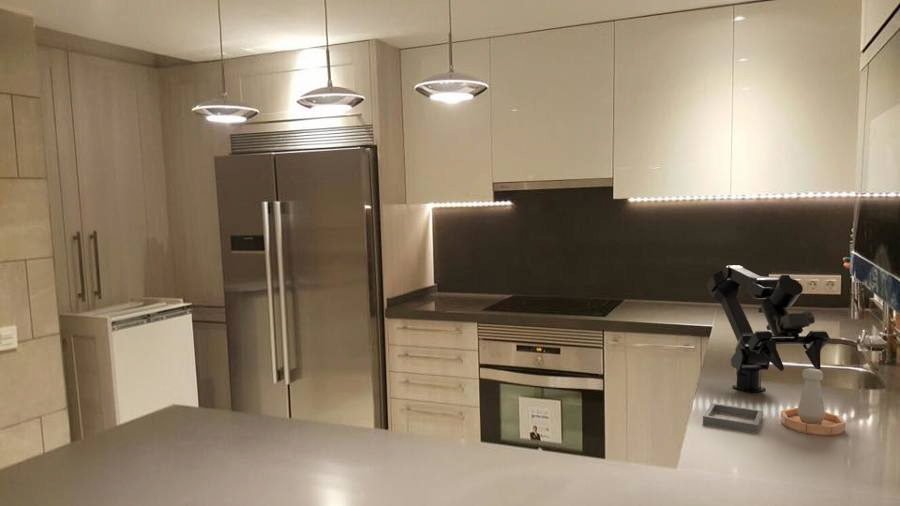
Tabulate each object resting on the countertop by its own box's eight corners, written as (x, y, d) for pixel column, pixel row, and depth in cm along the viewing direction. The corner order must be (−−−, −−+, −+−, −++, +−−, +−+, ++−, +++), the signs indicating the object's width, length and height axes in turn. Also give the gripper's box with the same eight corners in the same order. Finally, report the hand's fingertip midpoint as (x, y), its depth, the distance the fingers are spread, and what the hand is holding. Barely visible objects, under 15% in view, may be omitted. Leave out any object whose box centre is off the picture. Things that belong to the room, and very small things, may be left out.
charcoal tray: (711, 410, 163) (711, 402, 163) (762, 418, 157) (763, 410, 157) (702, 424, 153) (703, 416, 153) (757, 433, 147) (757, 425, 146)
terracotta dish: (802, 413, 160) (803, 405, 160) (855, 429, 149) (855, 420, 149) (769, 421, 154) (770, 413, 154) (821, 439, 143) (822, 429, 143)
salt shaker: (803, 416, 156) (806, 364, 155) (828, 422, 151) (831, 369, 150) (792, 421, 152) (794, 368, 151) (817, 428, 148) (820, 373, 147)
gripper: (755, 300, 159) (777, 353, 149) (827, 299, 160) (854, 352, 150) (739, 324, 168) (758, 376, 158) (807, 323, 169) (831, 375, 159)
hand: (800, 370), depth 156 cm, fingers open, 9 cm apart
